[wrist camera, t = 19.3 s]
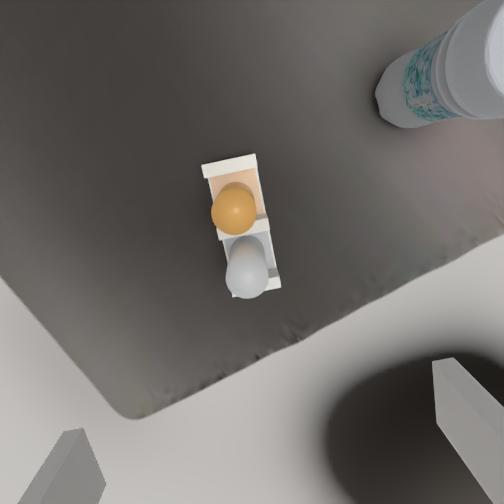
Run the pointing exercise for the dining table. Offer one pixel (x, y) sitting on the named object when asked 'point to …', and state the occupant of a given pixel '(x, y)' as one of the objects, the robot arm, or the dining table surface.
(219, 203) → the orange plug
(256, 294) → the grey plug
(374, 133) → the dining table surface
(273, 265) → the rack
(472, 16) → the bottle
